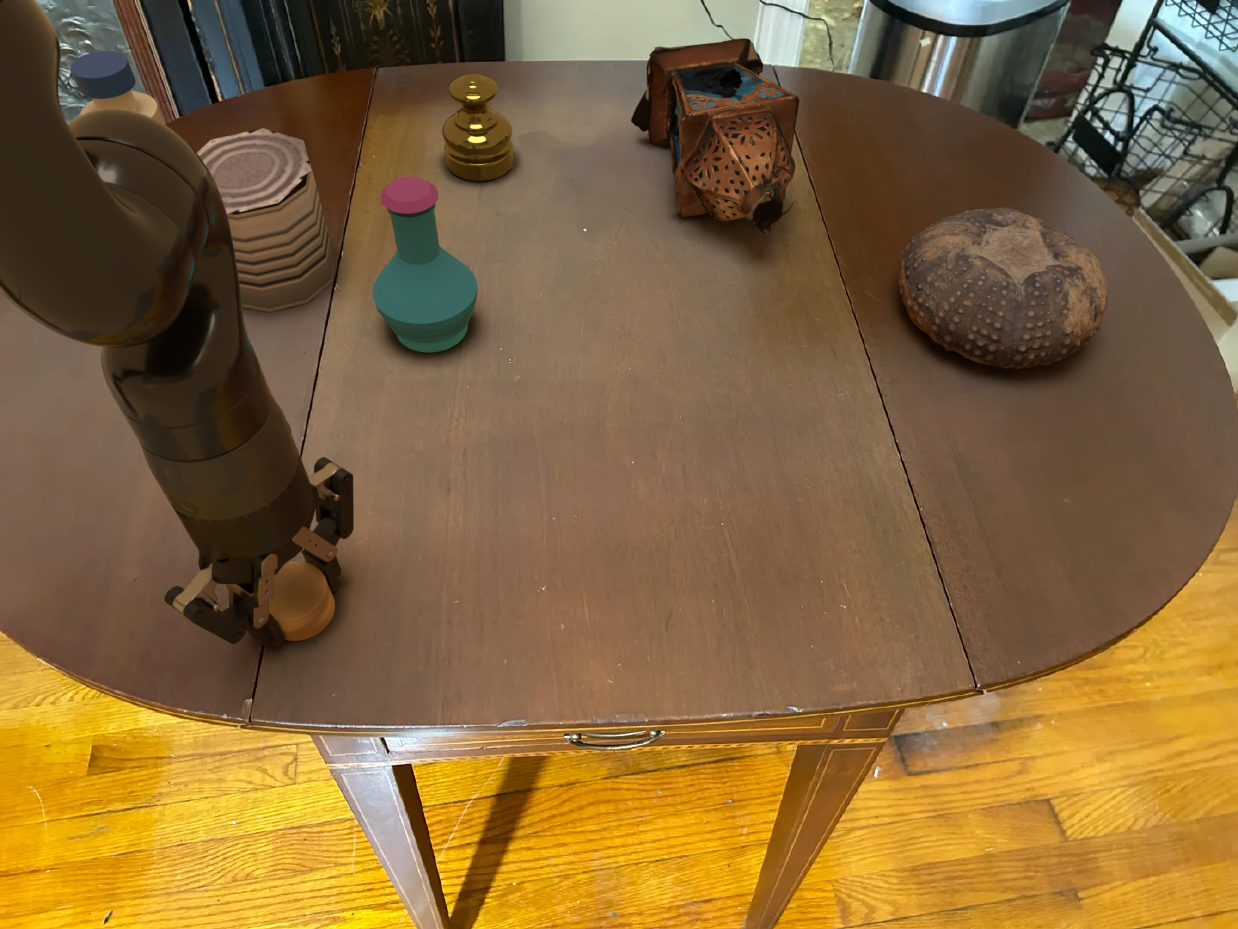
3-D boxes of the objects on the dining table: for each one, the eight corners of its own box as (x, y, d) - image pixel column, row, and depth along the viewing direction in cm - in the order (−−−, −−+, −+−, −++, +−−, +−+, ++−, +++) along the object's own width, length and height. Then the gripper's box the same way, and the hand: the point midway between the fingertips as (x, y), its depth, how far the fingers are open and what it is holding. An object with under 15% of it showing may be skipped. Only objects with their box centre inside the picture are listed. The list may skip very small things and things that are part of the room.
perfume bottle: (363, 348, 82) (328, 209, 71) (407, 285, 88) (381, 146, 76) (457, 372, 81) (437, 235, 69) (496, 306, 86) (484, 169, 75)
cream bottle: (155, 237, 91) (90, 92, 79) (111, 212, 93) (41, 67, 81) (209, 204, 94) (155, 60, 82) (165, 181, 97) (106, 37, 84)
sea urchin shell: (1065, 412, 80) (1095, 323, 73) (862, 355, 88) (869, 269, 81) (1118, 292, 90) (1148, 202, 82) (930, 250, 98) (942, 166, 91)
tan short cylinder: (300, 653, 64) (289, 633, 61) (252, 618, 65) (240, 597, 63) (349, 604, 66) (341, 583, 64) (302, 571, 68) (292, 549, 65)
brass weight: (498, 189, 98) (492, 102, 90) (435, 174, 99) (423, 88, 91) (523, 152, 102) (519, 67, 94) (462, 138, 104) (453, 53, 96)
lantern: (676, 181, 111) (748, 309, 95) (592, 93, 99) (658, 221, 84) (784, 86, 105) (880, 205, 89) (708, -19, 94) (802, 96, 78)
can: (350, 295, 87) (322, 187, 77) (227, 325, 84) (183, 217, 74) (322, 225, 93) (294, 118, 84) (207, 251, 90) (164, 142, 80)
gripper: (277, 363, 57) (333, 518, 71) (78, 515, 50) (184, 656, 63) (365, 415, 55) (406, 565, 68) (171, 584, 47) (260, 716, 61)
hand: (299, 608), depth 65 cm, fingers closed on tan short cylinder, 4 cm apart
